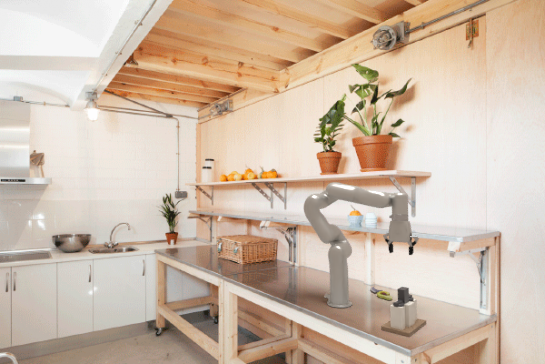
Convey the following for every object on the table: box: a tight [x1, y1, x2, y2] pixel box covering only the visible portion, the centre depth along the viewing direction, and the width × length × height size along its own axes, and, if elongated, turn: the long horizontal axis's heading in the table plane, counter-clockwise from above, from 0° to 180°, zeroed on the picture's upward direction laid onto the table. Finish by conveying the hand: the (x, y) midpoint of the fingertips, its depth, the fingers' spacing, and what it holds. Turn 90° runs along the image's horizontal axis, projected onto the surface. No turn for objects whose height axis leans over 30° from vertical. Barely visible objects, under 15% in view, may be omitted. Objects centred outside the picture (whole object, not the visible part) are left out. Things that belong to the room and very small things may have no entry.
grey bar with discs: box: [392, 286, 415, 307], centre depth 160 cm, size 5×16×6 cm, turn 139°
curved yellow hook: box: [370, 286, 393, 301], centre depth 209 cm, size 8×3×25 cm
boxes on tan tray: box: [380, 298, 427, 338], centre depth 159 cm, size 12×19×10 cm, turn 138°
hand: (400, 253), depth 178 cm, fingers open, 9 cm apart
